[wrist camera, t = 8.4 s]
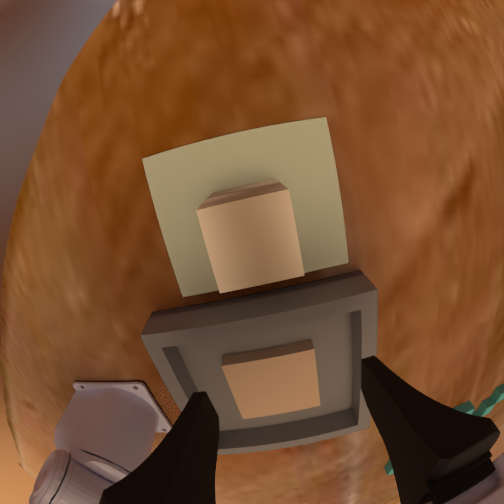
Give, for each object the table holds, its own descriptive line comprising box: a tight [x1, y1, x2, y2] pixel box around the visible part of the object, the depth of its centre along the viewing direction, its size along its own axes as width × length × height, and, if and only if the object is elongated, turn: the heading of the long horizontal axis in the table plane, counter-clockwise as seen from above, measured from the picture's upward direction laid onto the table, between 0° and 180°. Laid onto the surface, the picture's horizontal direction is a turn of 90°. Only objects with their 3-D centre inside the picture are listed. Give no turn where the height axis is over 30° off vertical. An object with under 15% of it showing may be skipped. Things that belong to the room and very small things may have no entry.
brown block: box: [196, 179, 305, 293], centre depth 15 cm, size 4×4×6 cm
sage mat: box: [142, 117, 349, 297], centre depth 18 cm, size 12×10×1 cm
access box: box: [140, 270, 378, 455], centre depth 21 cm, size 16×16×3 cm
